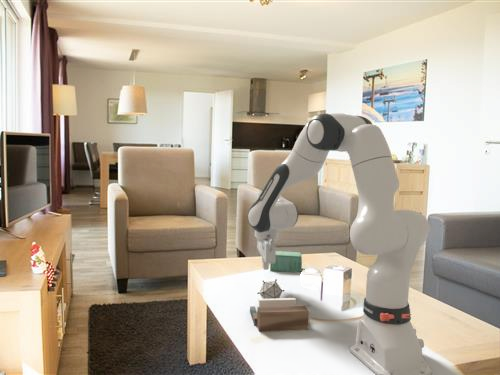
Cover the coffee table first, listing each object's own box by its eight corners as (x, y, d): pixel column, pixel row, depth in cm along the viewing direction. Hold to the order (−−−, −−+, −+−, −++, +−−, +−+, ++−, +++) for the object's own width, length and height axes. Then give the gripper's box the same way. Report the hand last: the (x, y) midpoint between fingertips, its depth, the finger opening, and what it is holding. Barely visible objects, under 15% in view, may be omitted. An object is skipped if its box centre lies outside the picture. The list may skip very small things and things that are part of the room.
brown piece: (310, 329, 140) (311, 310, 139) (256, 331, 138) (256, 312, 137) (299, 310, 155) (299, 293, 154) (250, 312, 153) (250, 294, 152)
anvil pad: (295, 314, 150) (296, 299, 149) (259, 315, 148) (259, 300, 148) (294, 311, 152) (294, 297, 151) (258, 312, 150) (258, 298, 150)
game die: (274, 314, 161) (281, 298, 154) (252, 304, 162) (258, 287, 155) (282, 295, 167) (289, 279, 161) (260, 285, 168) (267, 269, 162)
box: (301, 272, 198) (302, 255, 197) (269, 271, 199) (270, 254, 198) (301, 267, 205) (301, 251, 204) (270, 266, 206) (271, 250, 205)
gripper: (280, 238, 160) (279, 277, 162) (270, 226, 180) (269, 260, 182) (262, 239, 160) (261, 277, 161) (254, 226, 180) (253, 260, 181)
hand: (265, 268), depth 172 cm, fingers closed
